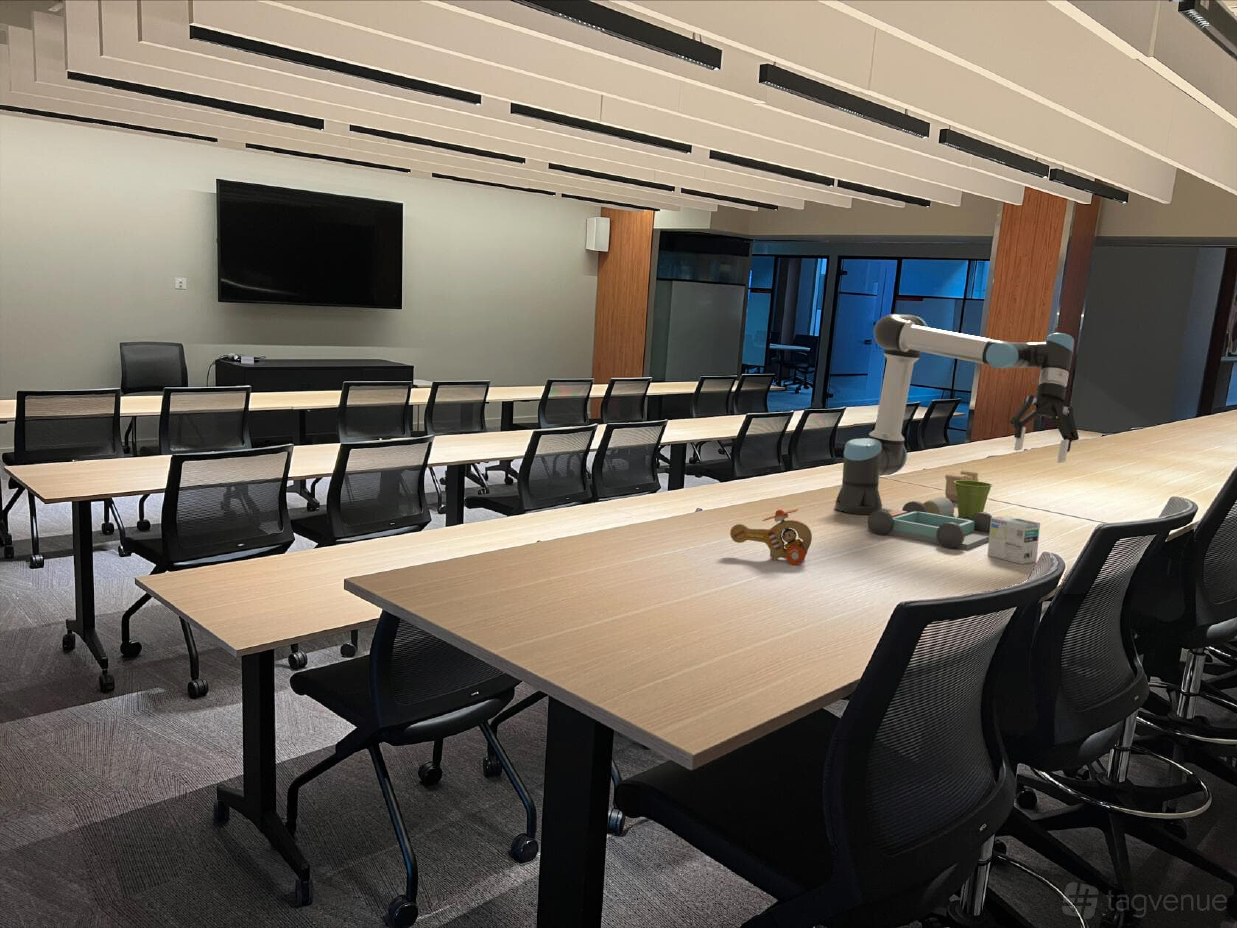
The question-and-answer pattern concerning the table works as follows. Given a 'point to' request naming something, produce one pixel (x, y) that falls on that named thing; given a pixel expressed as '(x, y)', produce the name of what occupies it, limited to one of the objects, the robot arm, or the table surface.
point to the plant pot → (971, 496)
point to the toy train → (952, 477)
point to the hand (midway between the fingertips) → (1039, 456)
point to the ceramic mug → (940, 506)
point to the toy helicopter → (779, 537)
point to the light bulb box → (1013, 539)
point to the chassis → (931, 526)
